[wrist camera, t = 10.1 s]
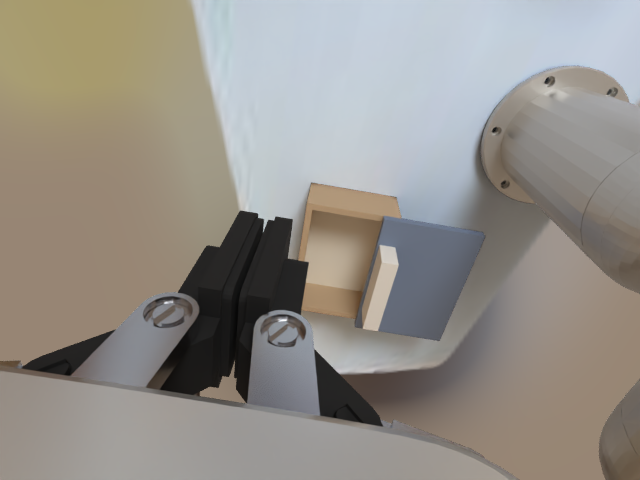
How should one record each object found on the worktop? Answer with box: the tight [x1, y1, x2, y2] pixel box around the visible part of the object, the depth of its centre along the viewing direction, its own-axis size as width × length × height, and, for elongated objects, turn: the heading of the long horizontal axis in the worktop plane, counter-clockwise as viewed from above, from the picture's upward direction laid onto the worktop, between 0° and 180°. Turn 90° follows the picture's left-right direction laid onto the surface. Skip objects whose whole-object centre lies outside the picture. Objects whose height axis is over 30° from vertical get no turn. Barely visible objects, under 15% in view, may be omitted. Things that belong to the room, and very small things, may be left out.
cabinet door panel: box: [355, 216, 485, 341], centre depth 37 cm, size 9×13×4 cm
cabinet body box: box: [298, 183, 402, 319], centre depth 41 cm, size 9×13×5 cm
